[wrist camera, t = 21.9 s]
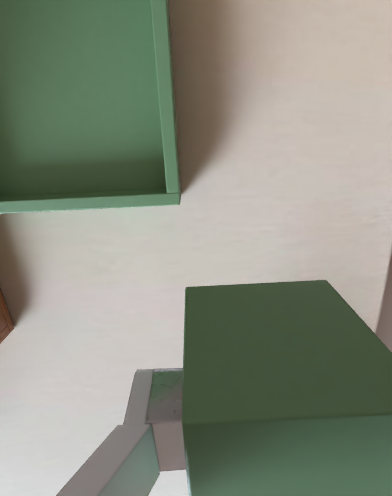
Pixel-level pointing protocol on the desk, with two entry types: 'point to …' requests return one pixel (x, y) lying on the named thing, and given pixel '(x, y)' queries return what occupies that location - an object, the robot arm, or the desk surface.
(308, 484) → the green block
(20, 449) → the desk surface
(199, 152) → the desk surface
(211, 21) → the desk surface
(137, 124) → the green tray
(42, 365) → the desk surface
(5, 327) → the wood tray
